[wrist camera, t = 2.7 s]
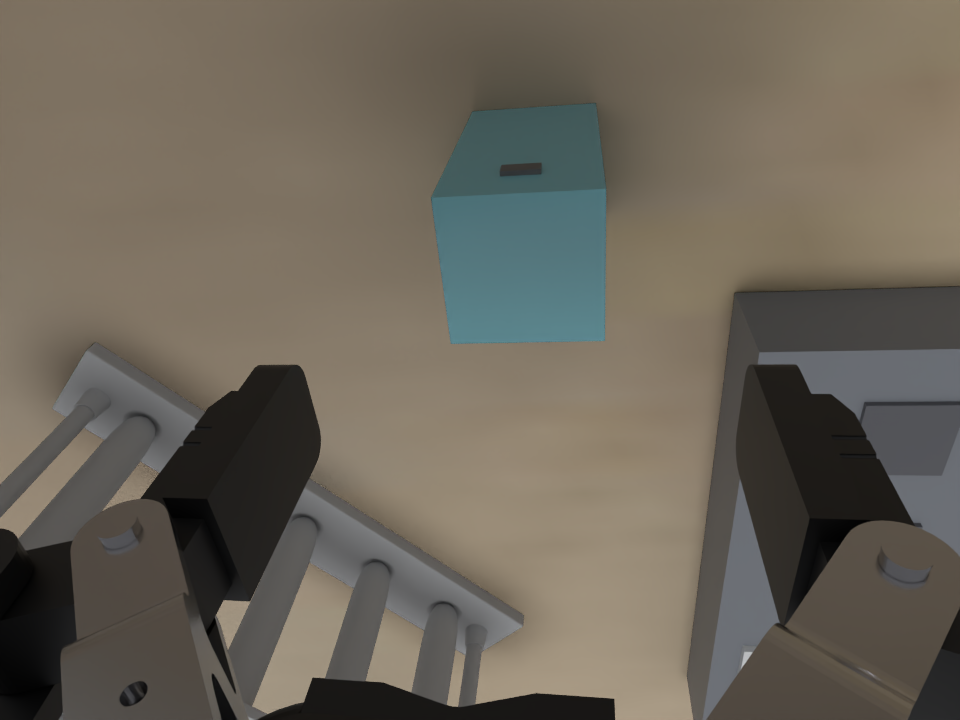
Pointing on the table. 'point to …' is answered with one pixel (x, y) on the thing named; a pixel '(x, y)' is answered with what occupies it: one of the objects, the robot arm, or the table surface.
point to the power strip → (881, 412)
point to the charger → (524, 227)
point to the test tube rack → (307, 538)
